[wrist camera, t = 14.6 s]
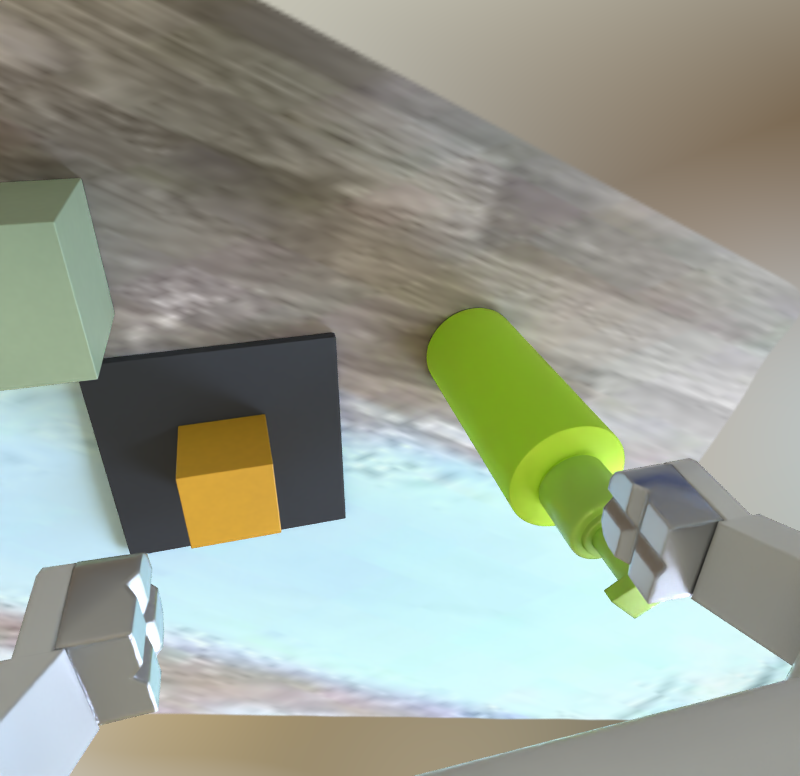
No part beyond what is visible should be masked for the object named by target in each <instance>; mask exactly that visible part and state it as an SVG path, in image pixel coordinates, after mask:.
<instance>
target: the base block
mask: <svg viewBox="0 0 800 776" xmlns="http://www.w3.org/2000/svg"><path fill="white" fill-rule="evenodd" d="M114 314H115V313H114V309H113V305H112V301H111V296H110V292H109V288H108V284H107V280H106V276H105V272H104V268H103V264H102V260H101V256H100V252H99V248H98V244H97V240H96V236H95V232H94V228H93V224H92V220H91V216H90V212H89V208H88V204H87V200H86V196H85V192H84V188H83V184H82V179H81V178H73V179H55V180H37V181H19V182H1V183H0V391H4V390H12V389H20V388H29V387H37V386H45V385H54V384H62V383H70V382H79V381H87V380H95V379H98V376H99V372H100V368H101V365H102V361H103V357H104V353H105V349H106V345H107V341H108V337H109V334H110V330H111V326H112V322H113V318H114Z"/></svg>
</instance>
